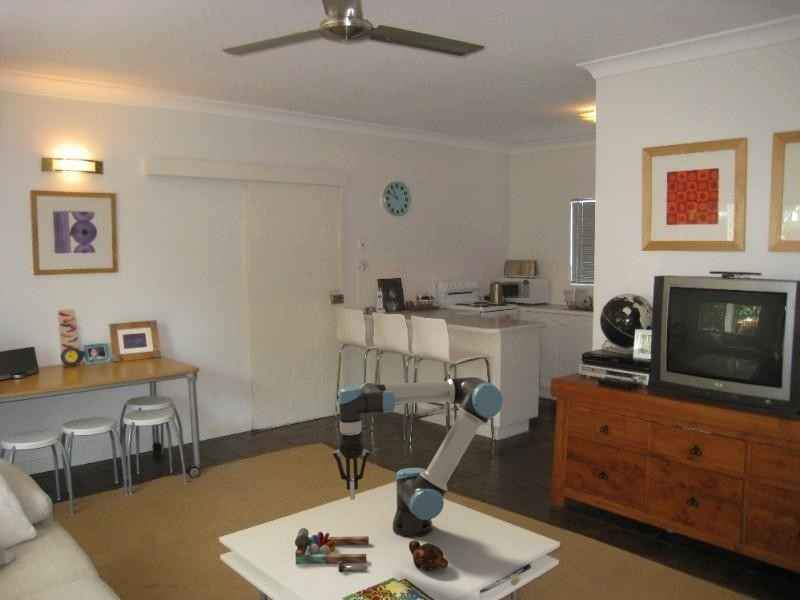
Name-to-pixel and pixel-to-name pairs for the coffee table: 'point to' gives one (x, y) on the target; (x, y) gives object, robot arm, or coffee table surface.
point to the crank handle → (350, 567)
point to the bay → (303, 558)
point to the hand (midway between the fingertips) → (352, 498)
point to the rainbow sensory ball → (321, 544)
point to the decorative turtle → (427, 555)
